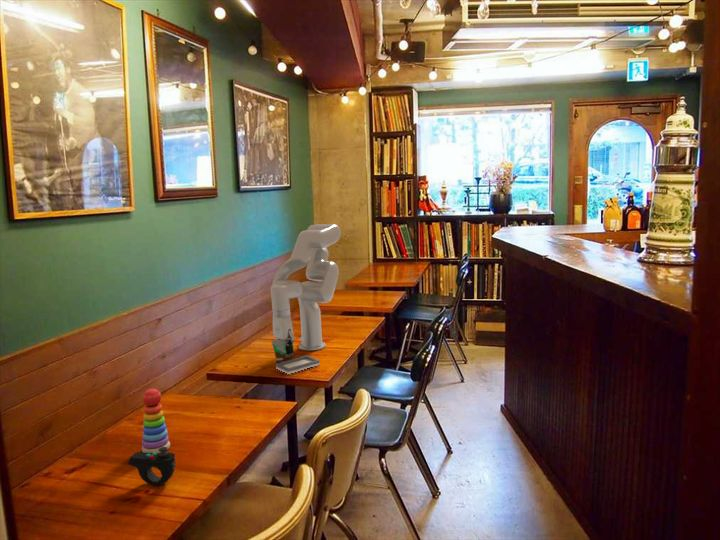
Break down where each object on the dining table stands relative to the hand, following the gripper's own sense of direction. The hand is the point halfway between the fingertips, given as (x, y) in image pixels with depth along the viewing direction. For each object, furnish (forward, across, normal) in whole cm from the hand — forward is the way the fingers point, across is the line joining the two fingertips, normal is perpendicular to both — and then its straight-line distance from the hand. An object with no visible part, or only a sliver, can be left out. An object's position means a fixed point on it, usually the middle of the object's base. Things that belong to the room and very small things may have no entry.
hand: (285, 351), depth 241 cm
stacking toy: (+1, +44, -72) cm, 84 cm away
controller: (0, +62, -79) cm, 101 cm away
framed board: (+4, +12, -1) cm, 12 cm away
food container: (+3, +2, 0) cm, 4 cm away
